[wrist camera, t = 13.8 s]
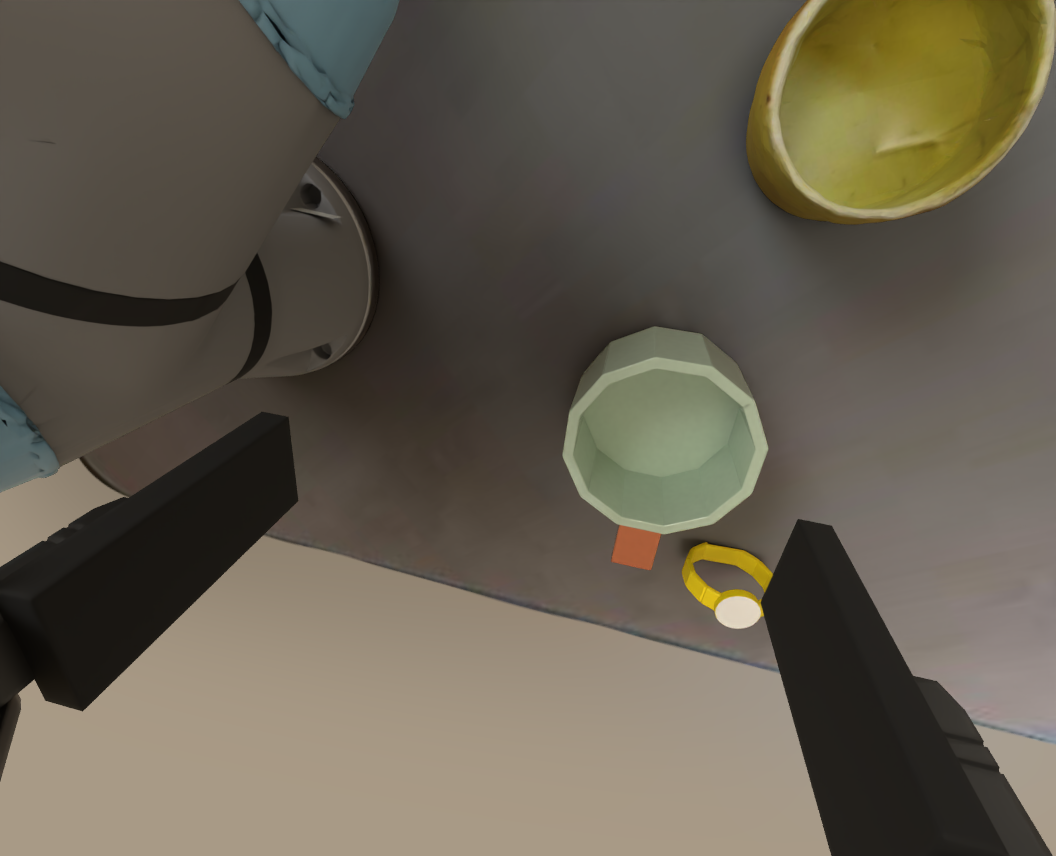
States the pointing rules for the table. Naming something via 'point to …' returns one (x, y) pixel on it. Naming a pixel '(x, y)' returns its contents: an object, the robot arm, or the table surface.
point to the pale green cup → (662, 438)
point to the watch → (731, 604)
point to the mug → (894, 103)
